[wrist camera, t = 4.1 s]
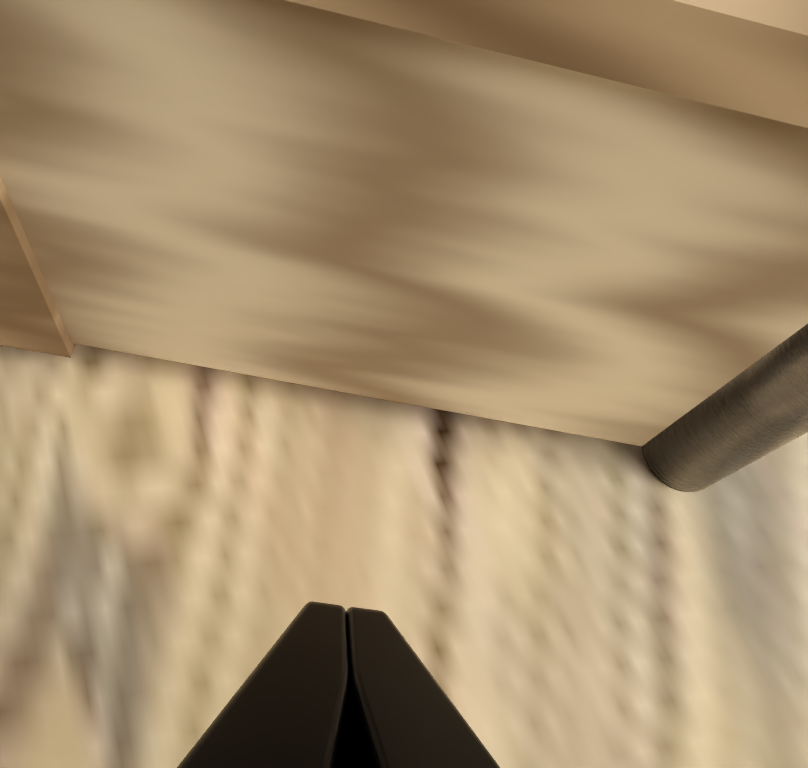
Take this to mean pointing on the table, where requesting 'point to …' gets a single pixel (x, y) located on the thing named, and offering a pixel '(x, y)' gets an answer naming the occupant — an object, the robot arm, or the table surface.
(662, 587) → the table surface
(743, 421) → the hinge post
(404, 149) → the gate
